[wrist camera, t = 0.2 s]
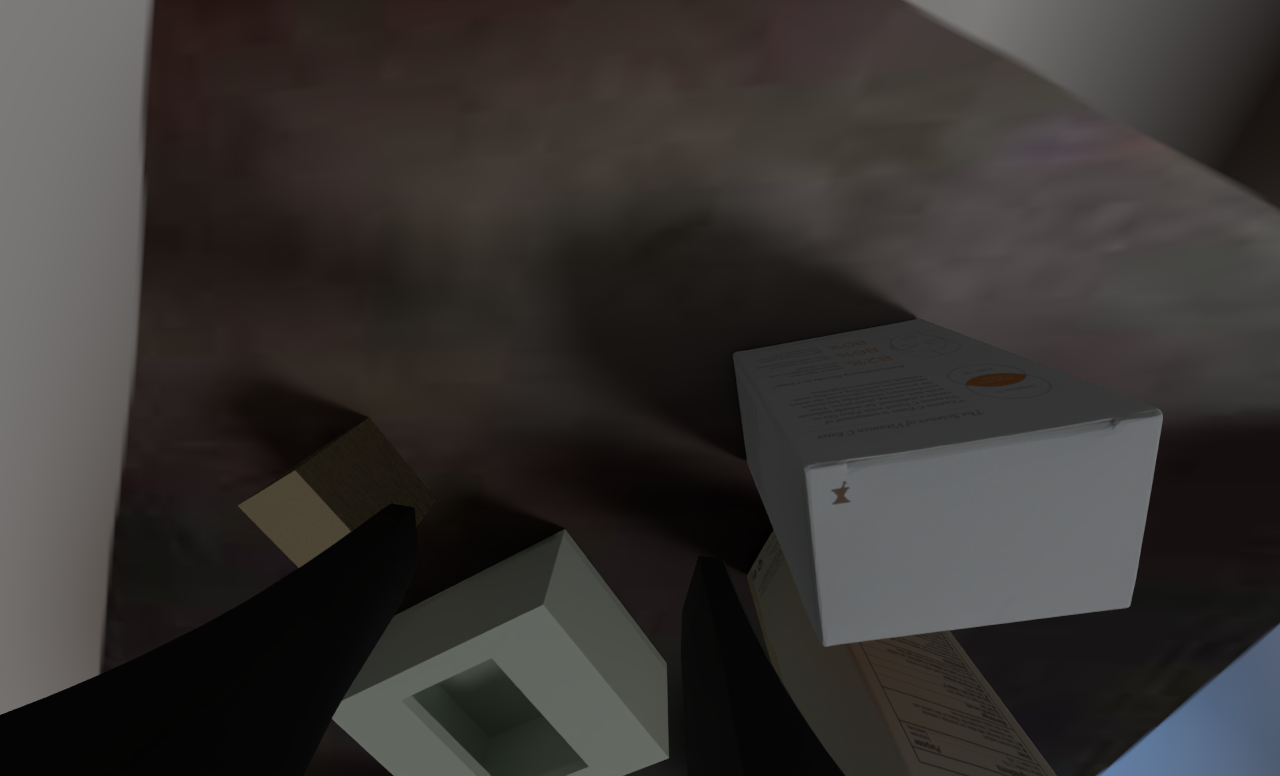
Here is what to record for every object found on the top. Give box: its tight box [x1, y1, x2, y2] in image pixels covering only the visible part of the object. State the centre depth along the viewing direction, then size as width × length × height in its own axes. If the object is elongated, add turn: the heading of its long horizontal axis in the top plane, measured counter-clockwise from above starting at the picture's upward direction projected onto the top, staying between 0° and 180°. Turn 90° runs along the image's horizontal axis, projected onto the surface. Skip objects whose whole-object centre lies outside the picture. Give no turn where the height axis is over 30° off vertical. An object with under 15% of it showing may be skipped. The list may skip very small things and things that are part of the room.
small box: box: [733, 319, 1163, 647], centre depth 17 cm, size 8×6×10 cm
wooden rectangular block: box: [238, 418, 437, 568], centre depth 21 cm, size 3×5×5 cm, turn 31°
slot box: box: [332, 529, 669, 776], centre depth 25 cm, size 12×10×5 cm
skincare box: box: [747, 530, 1057, 776], centre depth 19 cm, size 6×4×12 cm
